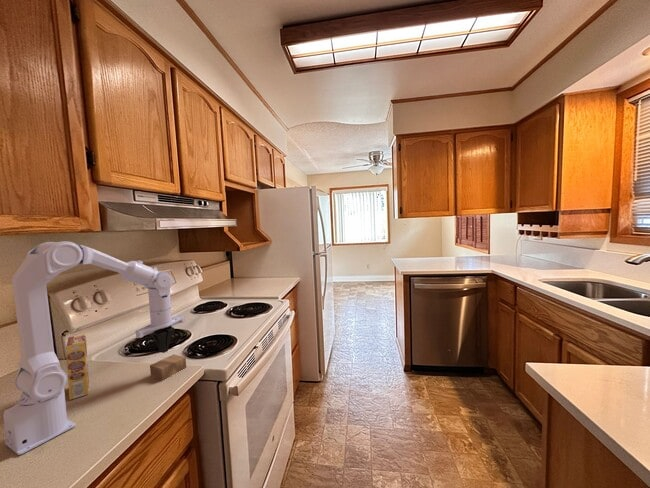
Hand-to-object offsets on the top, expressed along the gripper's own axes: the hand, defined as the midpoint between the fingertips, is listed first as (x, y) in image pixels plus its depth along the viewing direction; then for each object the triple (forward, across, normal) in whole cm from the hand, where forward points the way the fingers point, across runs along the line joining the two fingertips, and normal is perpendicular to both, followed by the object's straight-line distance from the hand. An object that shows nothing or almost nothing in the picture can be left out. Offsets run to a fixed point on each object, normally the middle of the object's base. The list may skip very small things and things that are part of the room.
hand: (163, 351), depth 88 cm
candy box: (+8, +16, -15) cm, 23 cm away
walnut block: (+6, +3, 0) cm, 6 cm away
